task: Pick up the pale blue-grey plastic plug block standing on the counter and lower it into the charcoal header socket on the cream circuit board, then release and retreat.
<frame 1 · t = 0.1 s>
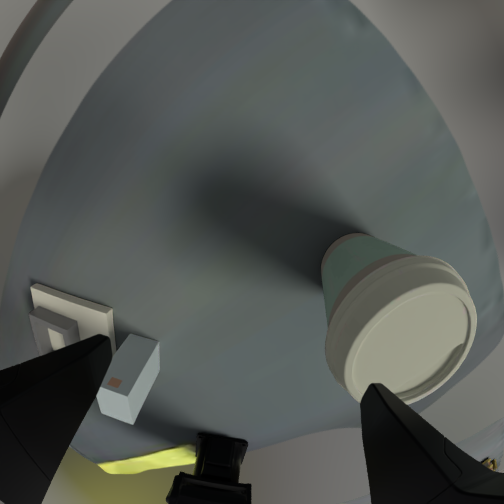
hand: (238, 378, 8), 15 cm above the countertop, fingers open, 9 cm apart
plug: (145, 352, 26), on the countertop
board: (77, 340, 27), on the countertop
coffee cup: (354, 266, 22), on the countertop
book: (472, 475, 39), on the countertop
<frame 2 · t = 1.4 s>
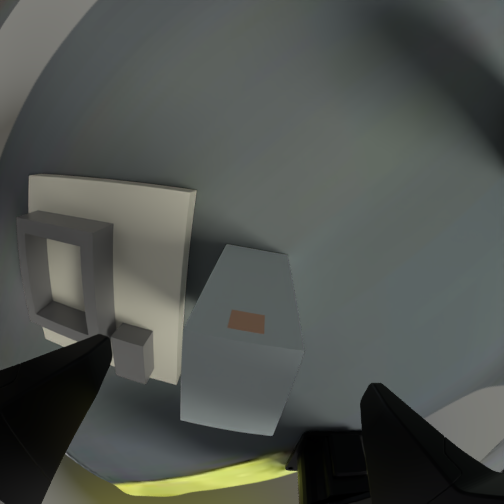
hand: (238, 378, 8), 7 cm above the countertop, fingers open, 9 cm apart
plug: (250, 284, 15), on the countertop
board: (102, 277, 16), on the countertop
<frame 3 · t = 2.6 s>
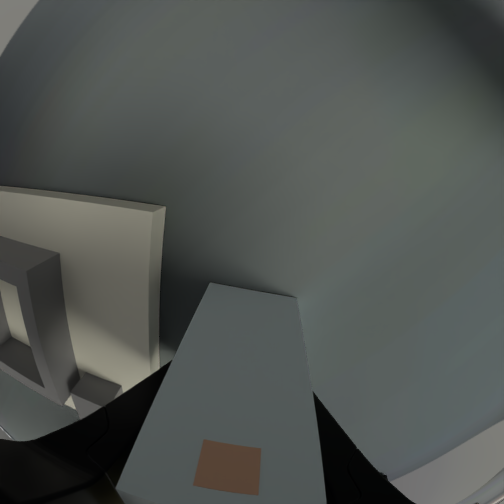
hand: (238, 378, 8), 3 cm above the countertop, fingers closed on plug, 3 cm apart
plug: (244, 335, 11), on the countertop, touching gripper
board: (60, 314, 11), on the countertop
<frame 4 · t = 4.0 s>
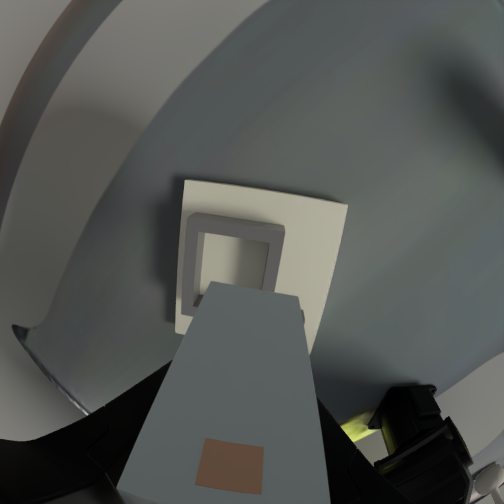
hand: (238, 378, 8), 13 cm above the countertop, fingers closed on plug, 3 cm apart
plug: (245, 334, 11), point 10 cm above the countertop, touching gripper
board: (254, 270, 21), on the countertop
potion bottle: (485, 470, 33), on the countertop
when the fingers open (4 cm above the countertop, at t = 5.4 s): plug stays where it is, resting on board.
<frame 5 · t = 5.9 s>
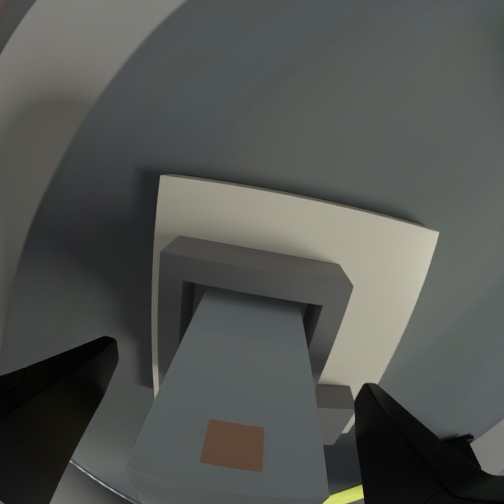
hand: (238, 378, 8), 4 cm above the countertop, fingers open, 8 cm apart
plug: (246, 327, 11), point 1 cm above the countertop, touching board
board: (278, 329, 13), on the countertop
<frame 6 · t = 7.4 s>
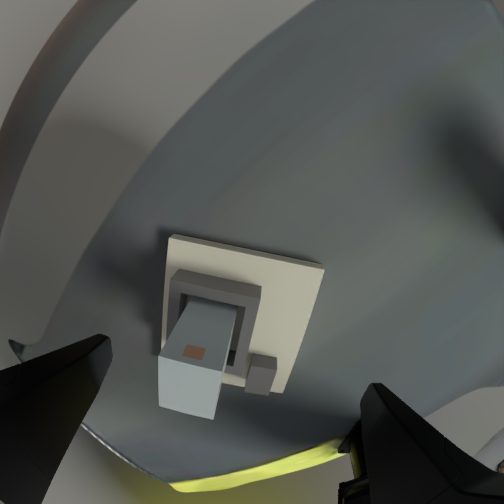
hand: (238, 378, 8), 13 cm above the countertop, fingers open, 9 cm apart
plug: (213, 317, 21), point 1 cm above the countertop, touching board
board: (233, 319, 22), on the countertop
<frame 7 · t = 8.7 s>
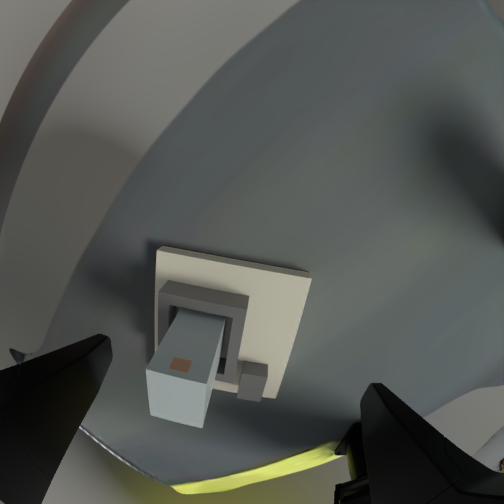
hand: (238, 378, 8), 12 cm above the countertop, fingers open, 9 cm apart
plug: (204, 326, 21), point 1 cm above the countertop, touching board
board: (224, 328, 22), on the countertop
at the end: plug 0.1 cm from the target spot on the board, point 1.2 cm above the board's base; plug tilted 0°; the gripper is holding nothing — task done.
